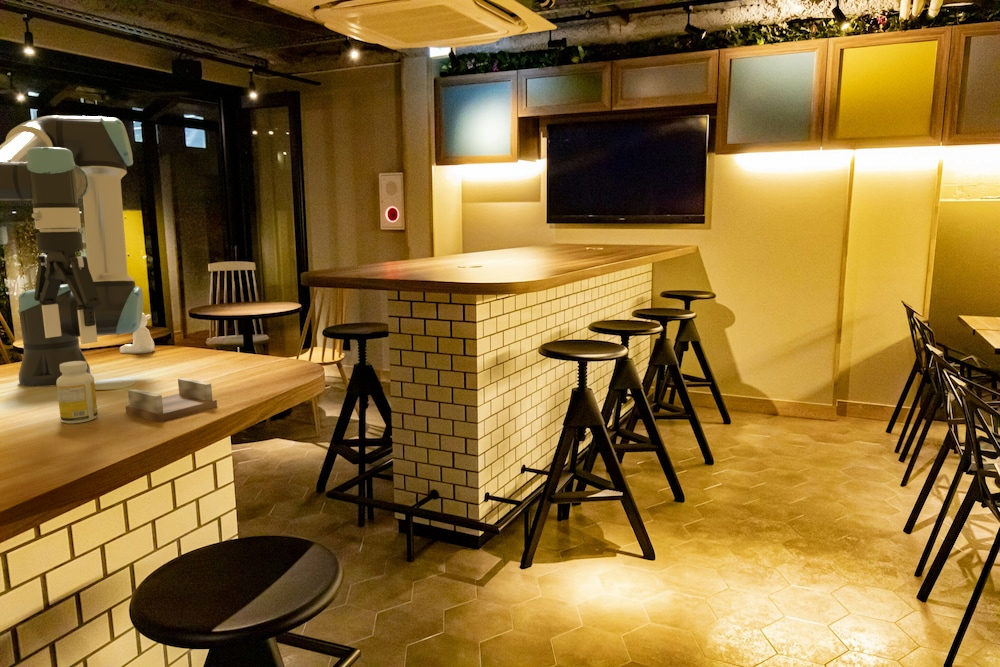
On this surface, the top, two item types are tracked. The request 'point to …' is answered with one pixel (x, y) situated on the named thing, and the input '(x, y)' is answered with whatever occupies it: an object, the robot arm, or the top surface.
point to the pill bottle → (76, 393)
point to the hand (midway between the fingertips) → (71, 339)
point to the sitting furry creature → (140, 339)
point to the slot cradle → (171, 401)
